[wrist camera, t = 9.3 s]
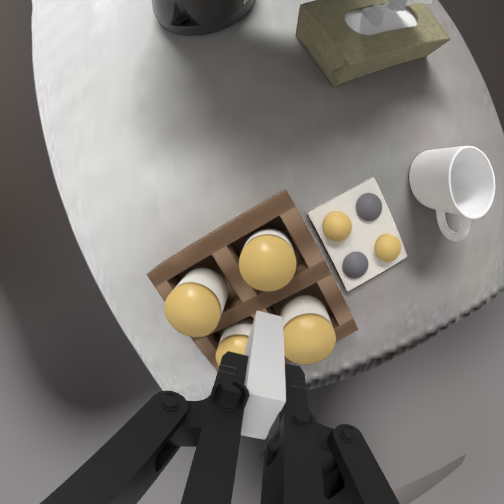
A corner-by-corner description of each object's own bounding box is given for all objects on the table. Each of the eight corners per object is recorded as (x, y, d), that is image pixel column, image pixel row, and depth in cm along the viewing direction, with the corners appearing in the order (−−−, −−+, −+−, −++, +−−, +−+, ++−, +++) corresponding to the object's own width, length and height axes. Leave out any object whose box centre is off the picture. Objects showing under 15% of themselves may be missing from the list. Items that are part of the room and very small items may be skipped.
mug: (452, 230, 33) (494, 247, 23) (410, 236, 34) (449, 255, 24) (448, 151, 30) (492, 148, 20) (403, 150, 31) (444, 144, 21)
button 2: (215, 326, 38) (206, 350, 32) (251, 309, 37) (247, 331, 31) (237, 356, 39) (232, 382, 33) (273, 341, 38) (272, 366, 32)
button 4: (270, 308, 33) (270, 334, 28) (314, 286, 32) (322, 308, 27) (292, 343, 35) (295, 371, 29) (334, 323, 33) (343, 349, 28)
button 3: (235, 241, 34) (228, 254, 29) (277, 217, 33) (278, 225, 28) (259, 280, 36) (257, 300, 30) (300, 258, 34) (306, 274, 29)
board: (159, 263, 38) (146, 274, 33) (284, 189, 34) (286, 190, 29) (233, 367, 41) (229, 385, 37) (350, 313, 38) (358, 329, 33)
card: (306, 212, 34) (309, 215, 32) (371, 177, 32) (377, 177, 30) (345, 288, 37) (349, 295, 34) (404, 254, 35) (411, 258, 33)
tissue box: (331, 88, 30) (367, 34, 15) (293, 35, 28) (301, -36, 13) (427, 56, 26) (483, 19, 11) (392, 9, 25) (431, -42, 9)
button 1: (172, 281, 34) (154, 301, 28) (211, 259, 32) (198, 276, 27) (198, 319, 35) (185, 344, 29) (237, 300, 33) (230, 324, 28)
